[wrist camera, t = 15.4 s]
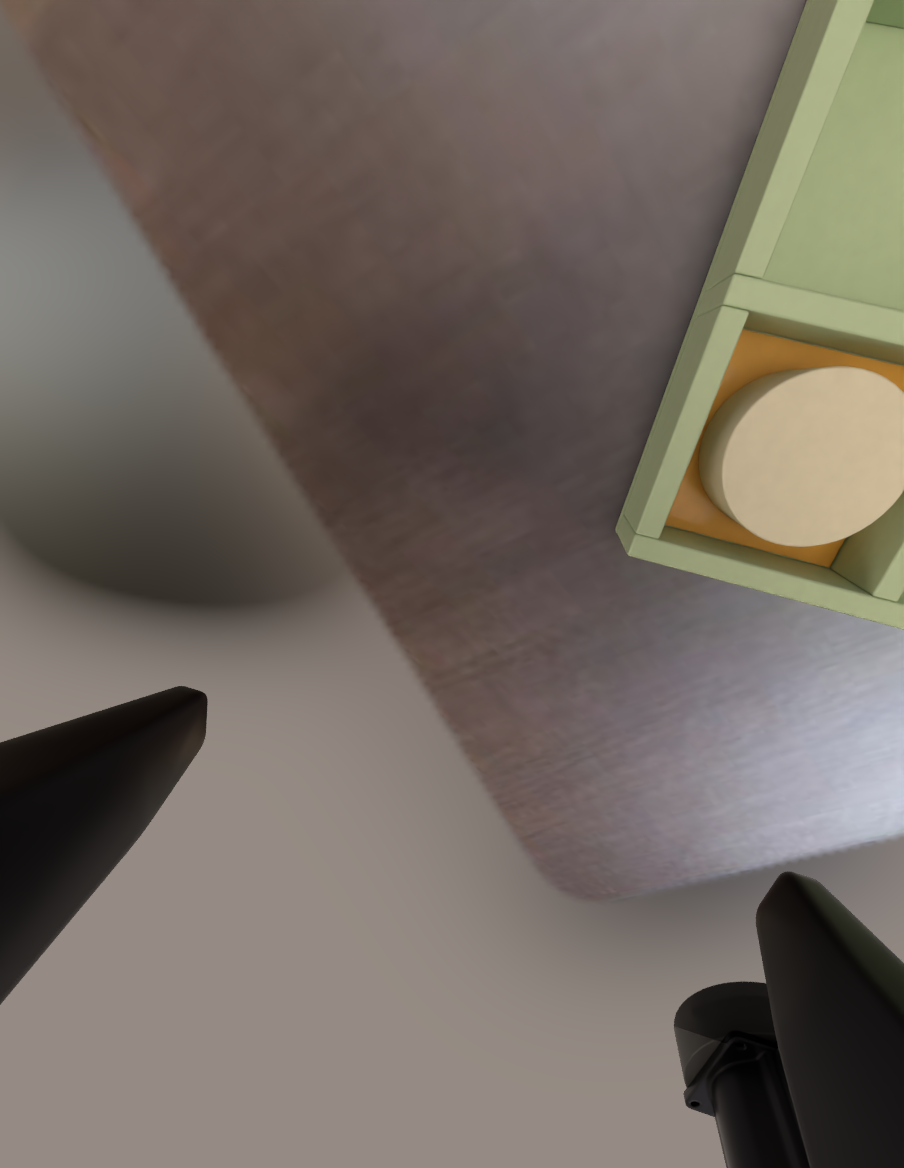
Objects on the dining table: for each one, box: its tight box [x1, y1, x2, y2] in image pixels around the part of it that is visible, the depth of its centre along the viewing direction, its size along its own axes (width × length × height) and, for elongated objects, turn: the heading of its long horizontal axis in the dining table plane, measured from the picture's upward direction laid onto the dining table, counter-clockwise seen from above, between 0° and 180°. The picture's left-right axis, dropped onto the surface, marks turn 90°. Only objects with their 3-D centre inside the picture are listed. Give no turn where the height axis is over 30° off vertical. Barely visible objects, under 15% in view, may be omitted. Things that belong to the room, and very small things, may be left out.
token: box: [699, 366, 904, 547], centre depth 15 cm, size 5×5×2 cm
